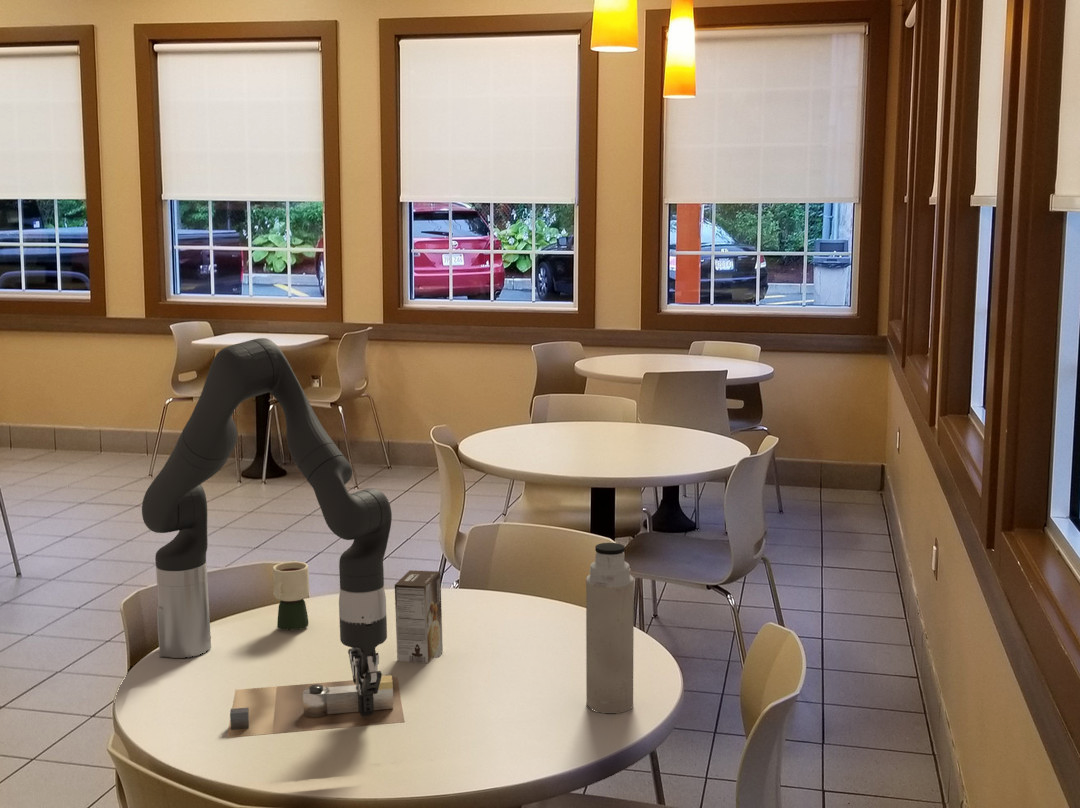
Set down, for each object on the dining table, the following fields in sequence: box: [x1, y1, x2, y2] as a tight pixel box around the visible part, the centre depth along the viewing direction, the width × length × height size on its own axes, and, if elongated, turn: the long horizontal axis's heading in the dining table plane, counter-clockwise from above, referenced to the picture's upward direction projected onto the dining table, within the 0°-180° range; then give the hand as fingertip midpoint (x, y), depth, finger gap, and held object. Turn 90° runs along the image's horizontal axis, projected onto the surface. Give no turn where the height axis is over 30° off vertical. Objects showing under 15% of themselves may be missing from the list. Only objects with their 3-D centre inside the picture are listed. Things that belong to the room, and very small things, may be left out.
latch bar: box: [303, 675, 393, 717], centre depth 191 cm, size 15×4×5 cm, turn 101°
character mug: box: [272, 561, 310, 631], centre depth 233 cm, size 11×7×13 cm, turn 162°
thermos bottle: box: [585, 542, 635, 714], centre depth 194 cm, size 8×8×28 cm
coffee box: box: [394, 569, 444, 664], centre depth 215 cm, size 9×6×16 cm
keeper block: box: [229, 707, 250, 730], centre depth 185 cm, size 3×2×3 cm, turn 101°
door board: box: [226, 676, 405, 739], centre depth 194 cm, size 28×19×1 cm
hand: (366, 713), depth 188 cm, fingers closed
